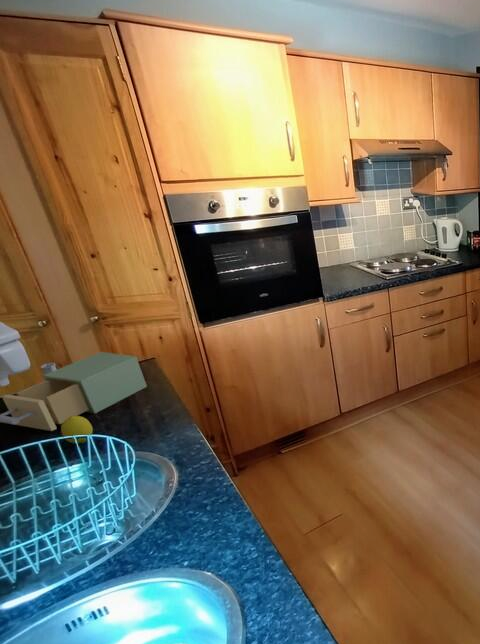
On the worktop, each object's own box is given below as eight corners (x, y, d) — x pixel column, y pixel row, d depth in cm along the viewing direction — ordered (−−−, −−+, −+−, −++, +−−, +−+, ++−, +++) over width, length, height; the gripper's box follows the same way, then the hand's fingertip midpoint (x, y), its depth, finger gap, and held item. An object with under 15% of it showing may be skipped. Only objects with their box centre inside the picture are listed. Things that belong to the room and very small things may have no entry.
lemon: (62, 448, 113) (49, 421, 110) (86, 435, 118) (74, 409, 115) (79, 451, 112) (66, 424, 109) (102, 438, 117) (91, 412, 114)
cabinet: (94, 413, 127) (80, 380, 123) (58, 407, 130) (42, 375, 126) (147, 386, 141) (136, 356, 137) (112, 381, 144) (100, 351, 140)
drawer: (29, 442, 114) (13, 413, 110) (-7, 435, 116) (-24, 406, 113) (108, 402, 131) (97, 375, 127) (75, 397, 134) (63, 371, 130)
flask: (52, 390, 139) (38, 362, 135) (81, 386, 141) (69, 358, 137) (39, 402, 132) (24, 372, 128) (70, 398, 135) (56, 368, 131)
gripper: (-75, 334, 105) (-46, 385, 110) (-10, 342, 101) (16, 396, 106) (-40, 324, 110) (-14, 374, 116) (23, 332, 106) (47, 383, 112)
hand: (1, 384), depth 111 cm, fingers closed
